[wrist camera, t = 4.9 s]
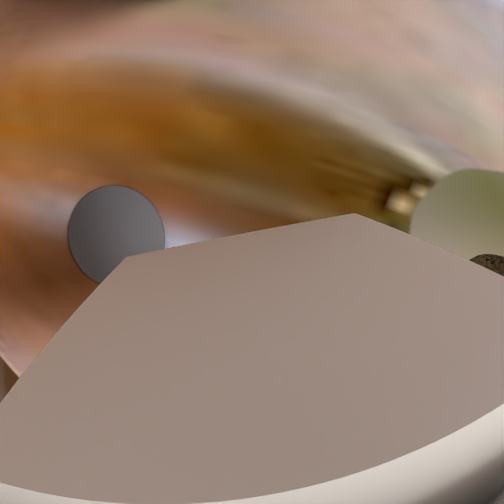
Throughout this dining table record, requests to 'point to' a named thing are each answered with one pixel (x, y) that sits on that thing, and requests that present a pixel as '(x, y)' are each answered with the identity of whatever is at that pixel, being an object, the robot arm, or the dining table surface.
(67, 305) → the dining table surface
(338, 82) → the dining table surface
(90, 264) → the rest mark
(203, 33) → the dining table surface
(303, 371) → the cream matte cube
